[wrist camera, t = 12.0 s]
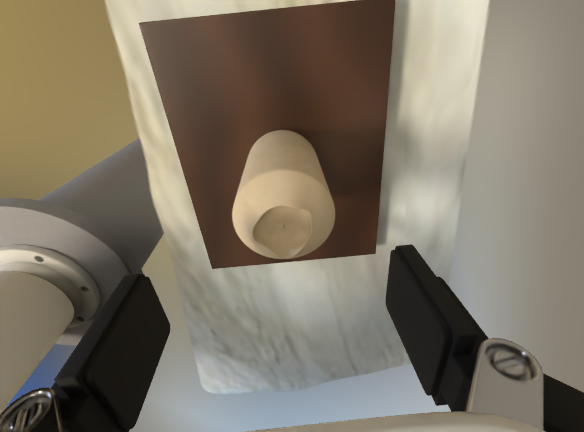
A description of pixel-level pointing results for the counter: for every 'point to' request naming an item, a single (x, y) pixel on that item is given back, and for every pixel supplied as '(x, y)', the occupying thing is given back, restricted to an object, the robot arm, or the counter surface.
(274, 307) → the counter surface
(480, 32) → the counter surface
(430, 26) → the counter surface
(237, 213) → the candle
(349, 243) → the walnut board
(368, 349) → the counter surface
